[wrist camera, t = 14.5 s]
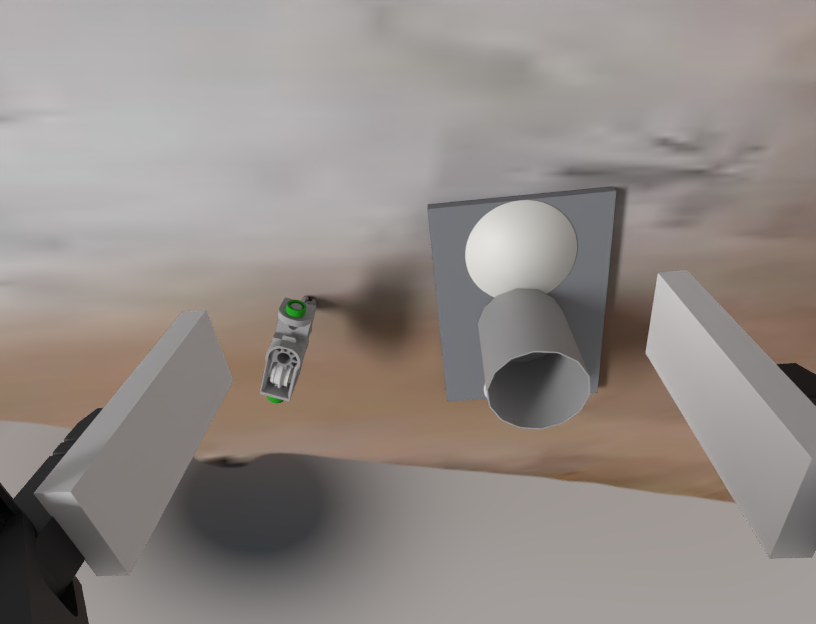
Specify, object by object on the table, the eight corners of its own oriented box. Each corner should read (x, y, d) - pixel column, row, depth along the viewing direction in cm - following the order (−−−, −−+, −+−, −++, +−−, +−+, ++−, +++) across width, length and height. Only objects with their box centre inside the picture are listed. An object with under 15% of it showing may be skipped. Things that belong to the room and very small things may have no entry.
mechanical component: (334, 263, 48) (311, 317, 40) (313, 345, 54) (289, 408, 45) (304, 254, 48) (275, 306, 39) (286, 338, 53) (256, 400, 45)
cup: (474, 356, 52) (481, 426, 43) (481, 287, 47) (491, 349, 39) (556, 360, 51) (580, 431, 43) (571, 290, 47) (601, 353, 39)
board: (427, 204, 45) (426, 223, 41) (612, 186, 43) (630, 204, 39) (447, 394, 56) (447, 423, 52) (594, 385, 54) (606, 415, 50)
